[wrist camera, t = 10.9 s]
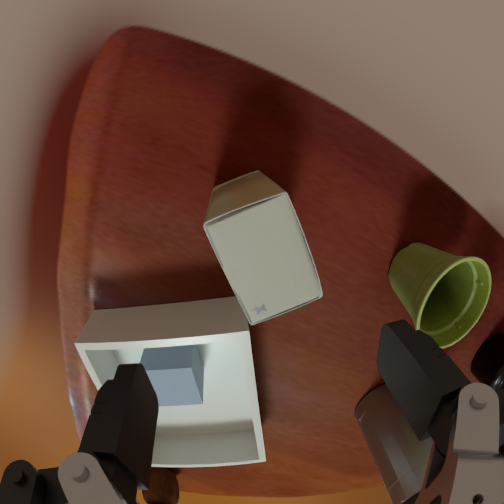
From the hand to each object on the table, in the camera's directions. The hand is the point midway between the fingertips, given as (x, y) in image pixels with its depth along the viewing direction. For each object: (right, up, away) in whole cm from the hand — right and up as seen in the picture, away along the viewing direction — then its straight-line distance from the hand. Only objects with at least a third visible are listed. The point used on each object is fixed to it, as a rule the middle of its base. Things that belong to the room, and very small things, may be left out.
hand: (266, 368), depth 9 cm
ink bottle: (+40, -14, +29) cm, 52 cm away
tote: (-8, -11, +23) cm, 27 cm away
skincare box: (-1, +8, +17) cm, 19 cm away
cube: (-8, -7, +21) cm, 23 cm away
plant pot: (+17, +2, +21) cm, 27 cm away
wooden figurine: (-16, -34, +31) cm, 49 cm away
